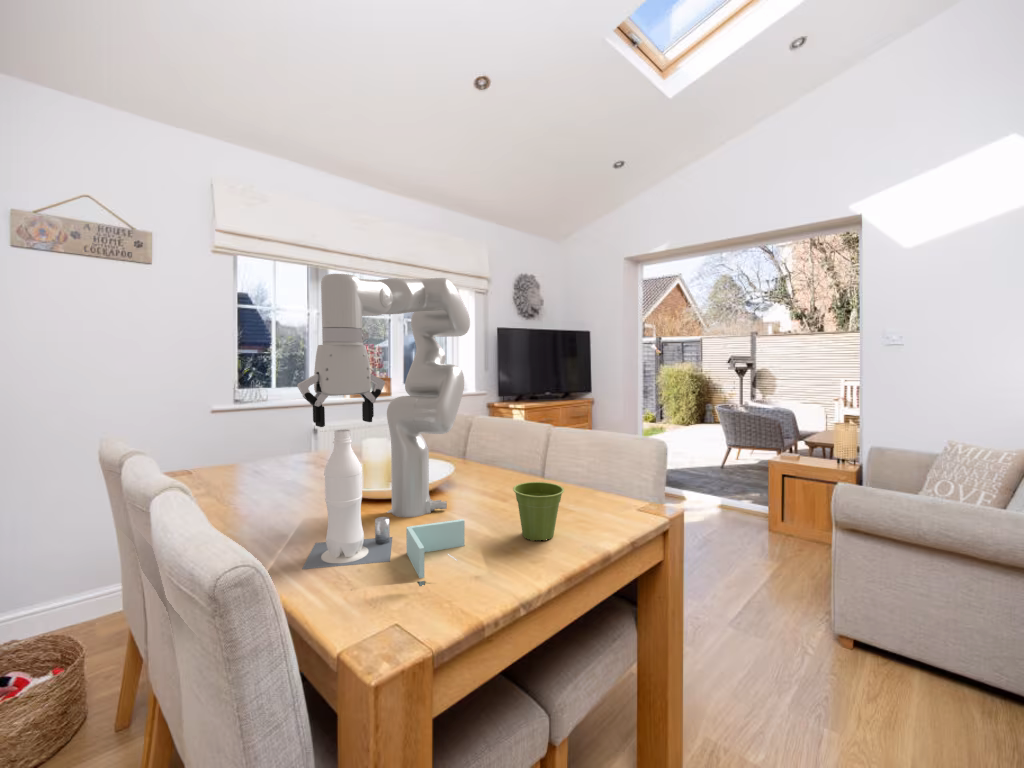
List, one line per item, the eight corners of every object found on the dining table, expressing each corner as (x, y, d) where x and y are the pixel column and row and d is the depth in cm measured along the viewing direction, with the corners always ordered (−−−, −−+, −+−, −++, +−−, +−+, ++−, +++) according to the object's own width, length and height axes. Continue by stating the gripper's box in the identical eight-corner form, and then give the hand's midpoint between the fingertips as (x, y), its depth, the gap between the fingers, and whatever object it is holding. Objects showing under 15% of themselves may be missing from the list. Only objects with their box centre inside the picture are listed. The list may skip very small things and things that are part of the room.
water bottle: (371, 550, 95) (368, 429, 93) (342, 563, 89) (338, 434, 87) (348, 543, 98) (345, 426, 97) (318, 555, 92) (315, 431, 91)
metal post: (389, 538, 101) (389, 516, 101) (389, 543, 99) (389, 520, 98) (375, 539, 101) (375, 517, 101) (374, 545, 98) (374, 521, 98)
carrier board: (392, 543, 103) (392, 536, 103) (390, 568, 90) (390, 560, 90) (315, 549, 99) (315, 542, 99) (302, 576, 86) (301, 568, 86)
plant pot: (505, 541, 104) (505, 492, 104) (523, 524, 115) (523, 480, 115) (555, 549, 100) (556, 498, 99) (569, 531, 111) (569, 484, 110)
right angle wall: (419, 589, 83) (419, 548, 83) (406, 563, 94) (406, 526, 94) (482, 577, 88) (482, 538, 88) (463, 553, 99) (462, 519, 99)
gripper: (374, 339, 100) (376, 418, 101) (290, 337, 88) (292, 426, 89) (391, 338, 95) (392, 421, 96) (303, 336, 83) (306, 430, 84)
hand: (344, 423), depth 92 cm, fingers open, 9 cm apart
